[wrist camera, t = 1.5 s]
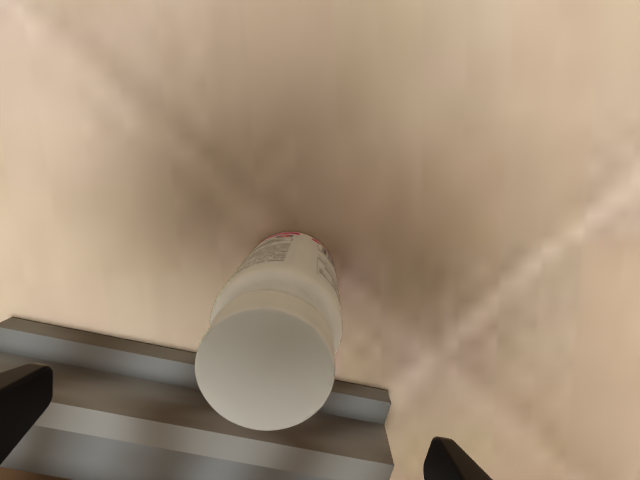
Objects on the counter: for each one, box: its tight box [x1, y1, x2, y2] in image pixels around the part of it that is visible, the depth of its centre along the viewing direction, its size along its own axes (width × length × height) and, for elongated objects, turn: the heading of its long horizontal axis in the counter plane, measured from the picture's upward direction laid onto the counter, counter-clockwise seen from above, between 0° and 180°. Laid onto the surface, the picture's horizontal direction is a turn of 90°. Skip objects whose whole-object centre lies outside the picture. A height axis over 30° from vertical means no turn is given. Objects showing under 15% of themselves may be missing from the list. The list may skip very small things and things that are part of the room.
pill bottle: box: [195, 232, 343, 431], centre depth 13 cm, size 5×5×8 cm
